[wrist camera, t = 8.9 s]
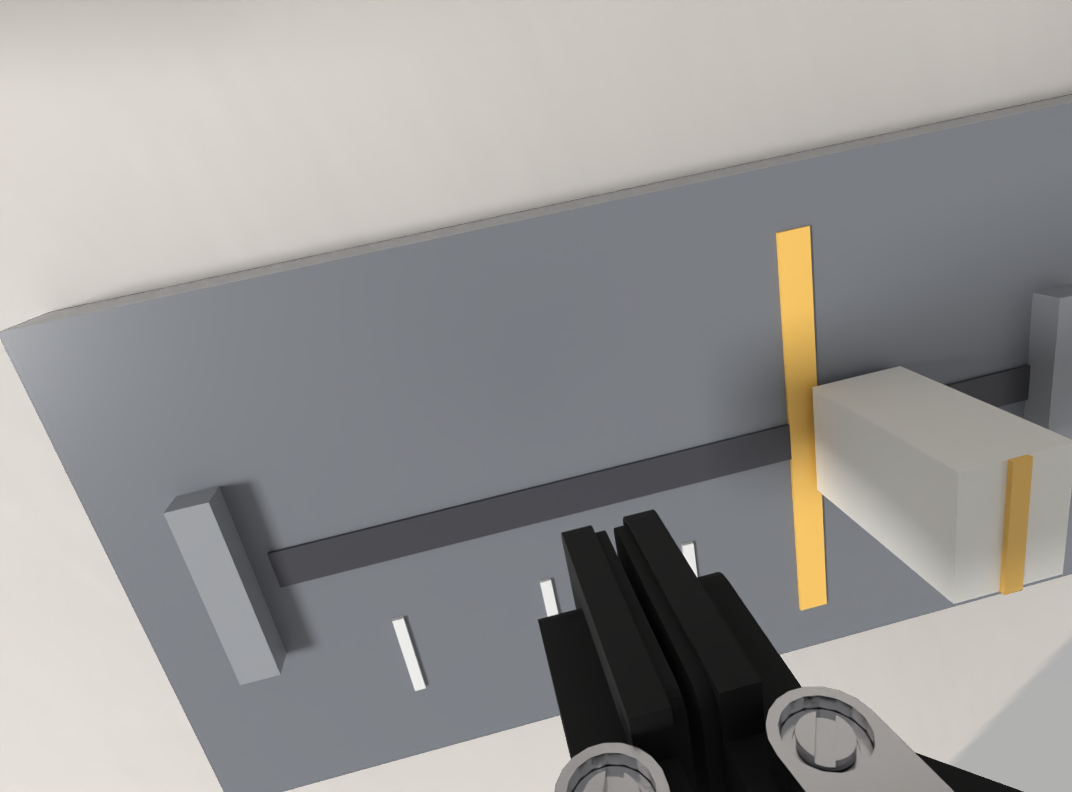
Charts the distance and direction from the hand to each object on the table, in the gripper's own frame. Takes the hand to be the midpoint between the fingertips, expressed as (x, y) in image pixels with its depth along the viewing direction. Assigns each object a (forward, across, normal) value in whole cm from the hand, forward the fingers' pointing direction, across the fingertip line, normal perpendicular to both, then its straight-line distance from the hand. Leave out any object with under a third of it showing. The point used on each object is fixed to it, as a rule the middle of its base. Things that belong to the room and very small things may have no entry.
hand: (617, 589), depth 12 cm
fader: (+5, -8, +1) cm, 10 cm away
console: (+8, -4, +1) cm, 9 cm away
